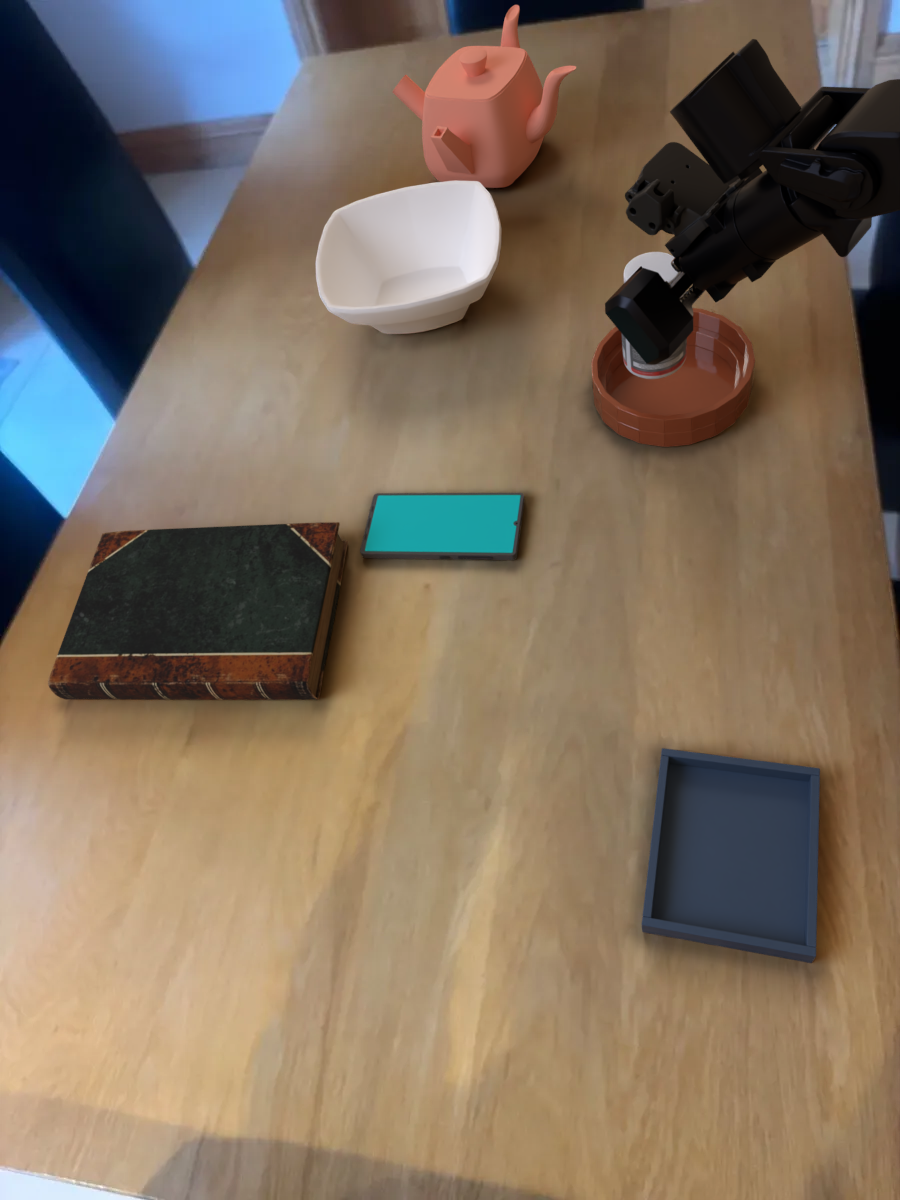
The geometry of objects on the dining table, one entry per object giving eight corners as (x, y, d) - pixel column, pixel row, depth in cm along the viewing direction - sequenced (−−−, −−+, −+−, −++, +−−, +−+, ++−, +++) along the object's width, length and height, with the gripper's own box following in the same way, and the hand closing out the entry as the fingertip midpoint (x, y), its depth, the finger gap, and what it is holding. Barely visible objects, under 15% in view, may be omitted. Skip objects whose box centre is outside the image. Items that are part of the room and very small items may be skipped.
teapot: (529, 105, 124) (516, -5, 113) (585, 171, 113) (576, 57, 102) (405, 154, 123) (379, 49, 112) (450, 225, 113) (426, 116, 102)
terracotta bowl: (679, 317, 96) (679, 286, 93) (785, 391, 88) (789, 360, 85) (564, 390, 94) (560, 361, 91) (662, 474, 86) (662, 445, 82)
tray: (661, 758, 71) (661, 747, 69) (816, 778, 68) (820, 767, 66) (642, 932, 64) (641, 925, 62) (812, 963, 61) (816, 956, 59)
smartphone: (374, 493, 90) (524, 492, 86) (376, 498, 91) (525, 498, 87) (358, 554, 86) (515, 556, 83) (361, 559, 87) (516, 561, 83)
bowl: (334, 383, 101) (309, 322, 94) (340, 265, 113) (318, 204, 106) (518, 350, 98) (507, 285, 91) (505, 233, 110) (494, 167, 103)
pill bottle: (700, 358, 83) (702, 267, 75) (651, 391, 82) (649, 302, 74) (657, 329, 86) (655, 238, 78) (610, 360, 85) (603, 272, 77)
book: (350, 542, 89) (119, 550, 94) (339, 519, 86) (101, 529, 91) (319, 704, 79) (65, 703, 85) (306, 685, 76) (43, 685, 82)
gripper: (766, 57, 66) (642, 165, 81) (619, 205, 61) (514, 292, 75) (853, 181, 69) (718, 264, 83) (720, 334, 63) (600, 395, 78)
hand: (639, 300), depth 80 cm, fingers closed on pill bottle, 6 cm apart
